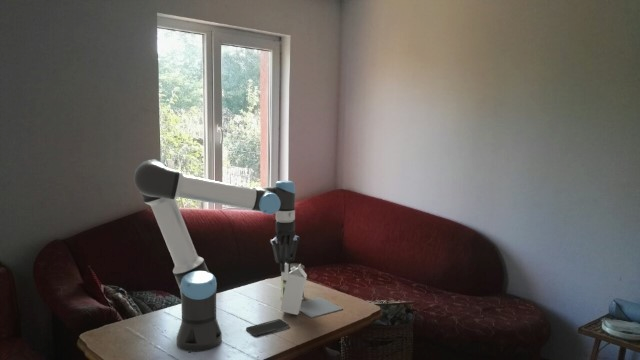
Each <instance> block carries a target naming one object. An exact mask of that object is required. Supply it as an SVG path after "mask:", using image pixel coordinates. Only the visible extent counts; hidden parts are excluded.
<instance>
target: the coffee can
mask: <svg viewBox="0 0 640 360" xmlns="http://www.w3.org/2000/svg"><path fill="white" fill-rule="evenodd" d="M300 264H301V263H295V262H293V263H291V264H290V271H291V268H292V267H294V266H295V268H298V266H299V265H300ZM300 267H301V268H302V269H303V271H304V272H305V269H306V268H305V265H303V264H301V266H300ZM290 271H288V274H289V272H290ZM280 272H281V271H280ZM280 275H281V280H280V281H281V282H280V285H281V286H280V288H281V289H280V299H281V301H282V300H283V295H284V290H285V285H286V281H285V280H283V279H282V272H281V273H280ZM304 299H305V291H304V292H303V297H302V301H304Z"/></svg>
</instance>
